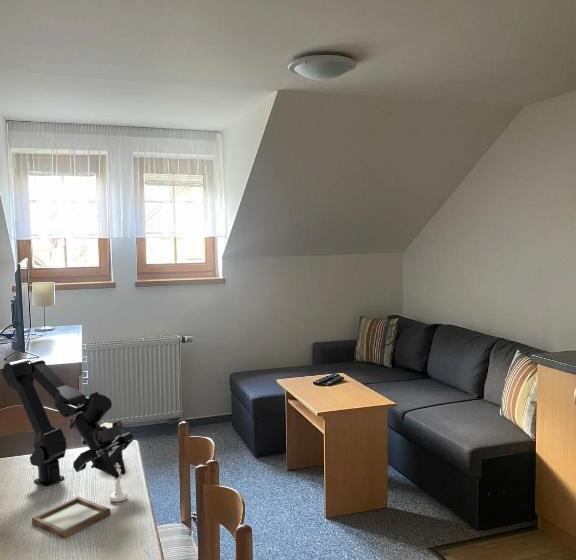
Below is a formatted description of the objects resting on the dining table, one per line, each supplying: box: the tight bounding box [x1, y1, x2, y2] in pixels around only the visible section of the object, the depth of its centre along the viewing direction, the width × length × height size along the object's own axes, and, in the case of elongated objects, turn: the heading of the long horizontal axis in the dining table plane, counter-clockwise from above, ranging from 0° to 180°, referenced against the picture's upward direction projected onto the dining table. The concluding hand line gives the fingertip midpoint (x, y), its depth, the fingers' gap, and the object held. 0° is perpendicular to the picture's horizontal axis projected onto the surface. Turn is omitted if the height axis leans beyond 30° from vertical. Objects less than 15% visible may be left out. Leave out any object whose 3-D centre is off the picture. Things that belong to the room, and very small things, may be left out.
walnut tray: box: [31, 496, 112, 540], centre depth 152 cm, size 14×14×2 cm
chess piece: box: [109, 463, 129, 502], centre depth 162 cm, size 5×5×10 cm
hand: (121, 475), depth 161 cm, fingers closed on chess piece
